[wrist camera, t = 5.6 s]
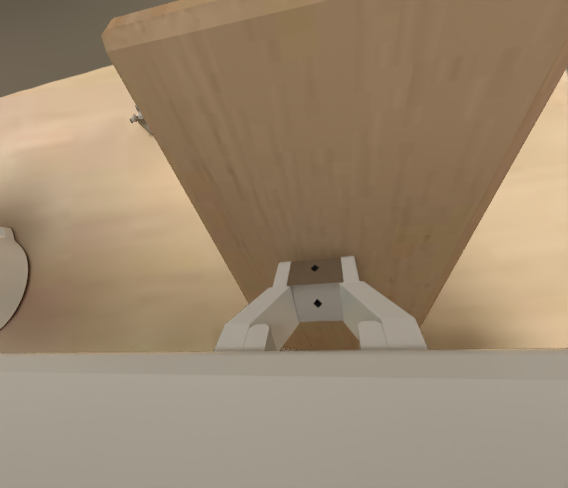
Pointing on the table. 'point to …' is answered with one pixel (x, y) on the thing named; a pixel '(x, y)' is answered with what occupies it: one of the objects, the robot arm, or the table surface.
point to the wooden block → (342, 128)
